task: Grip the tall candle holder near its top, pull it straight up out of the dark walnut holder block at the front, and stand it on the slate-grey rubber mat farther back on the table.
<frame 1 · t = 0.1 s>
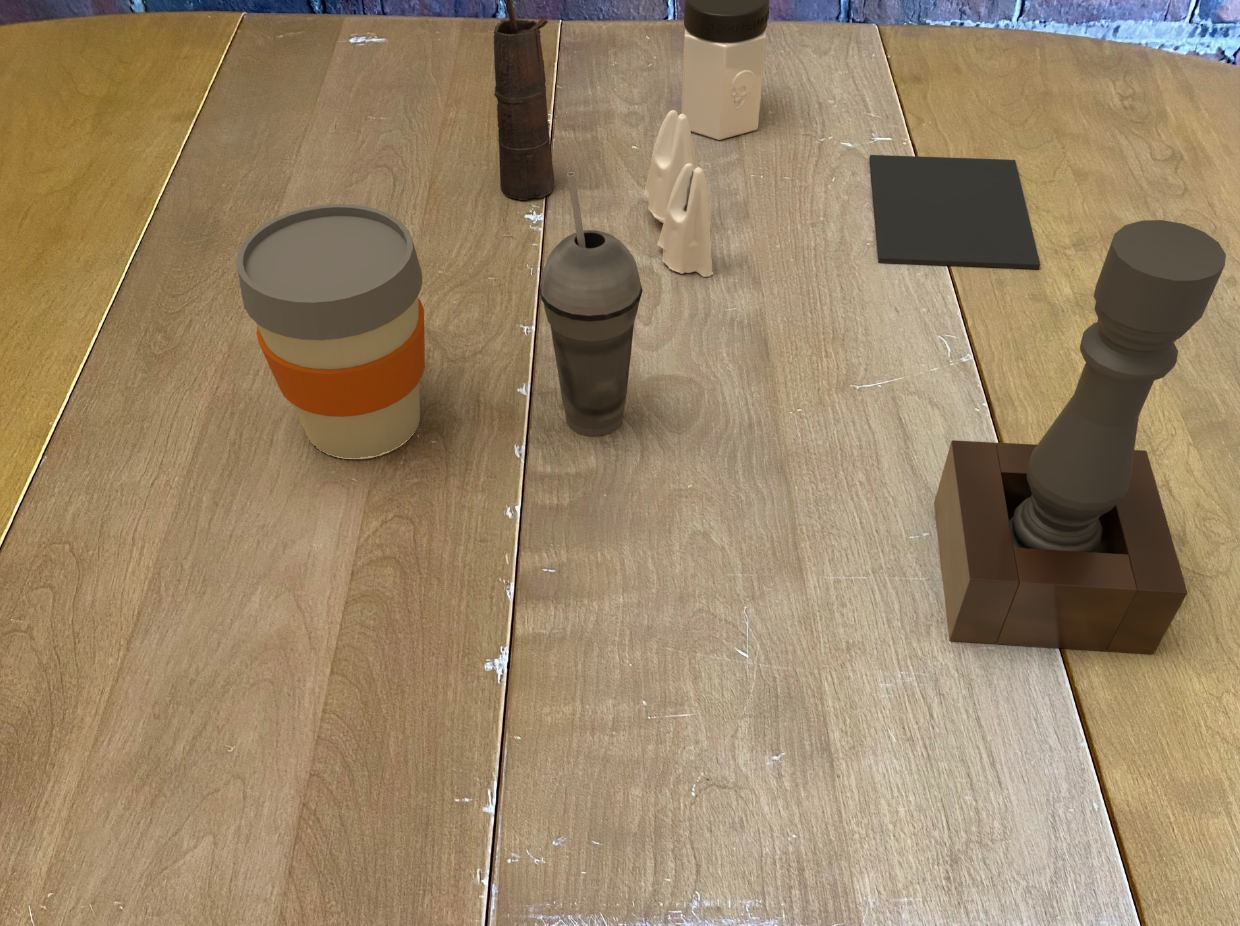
candle holder: (1036, 576, 81), resting in holder
shaker set: (677, 243, 107), on the table
butter churn: (538, 186, 114), on the table
holder: (1037, 574, 80), on the table
jar: (719, 121, 122), on the table
reusable coffee cup: (363, 423, 92), on the table
beverage cup: (594, 419, 92), on the table
mat: (949, 211, 110), on the table
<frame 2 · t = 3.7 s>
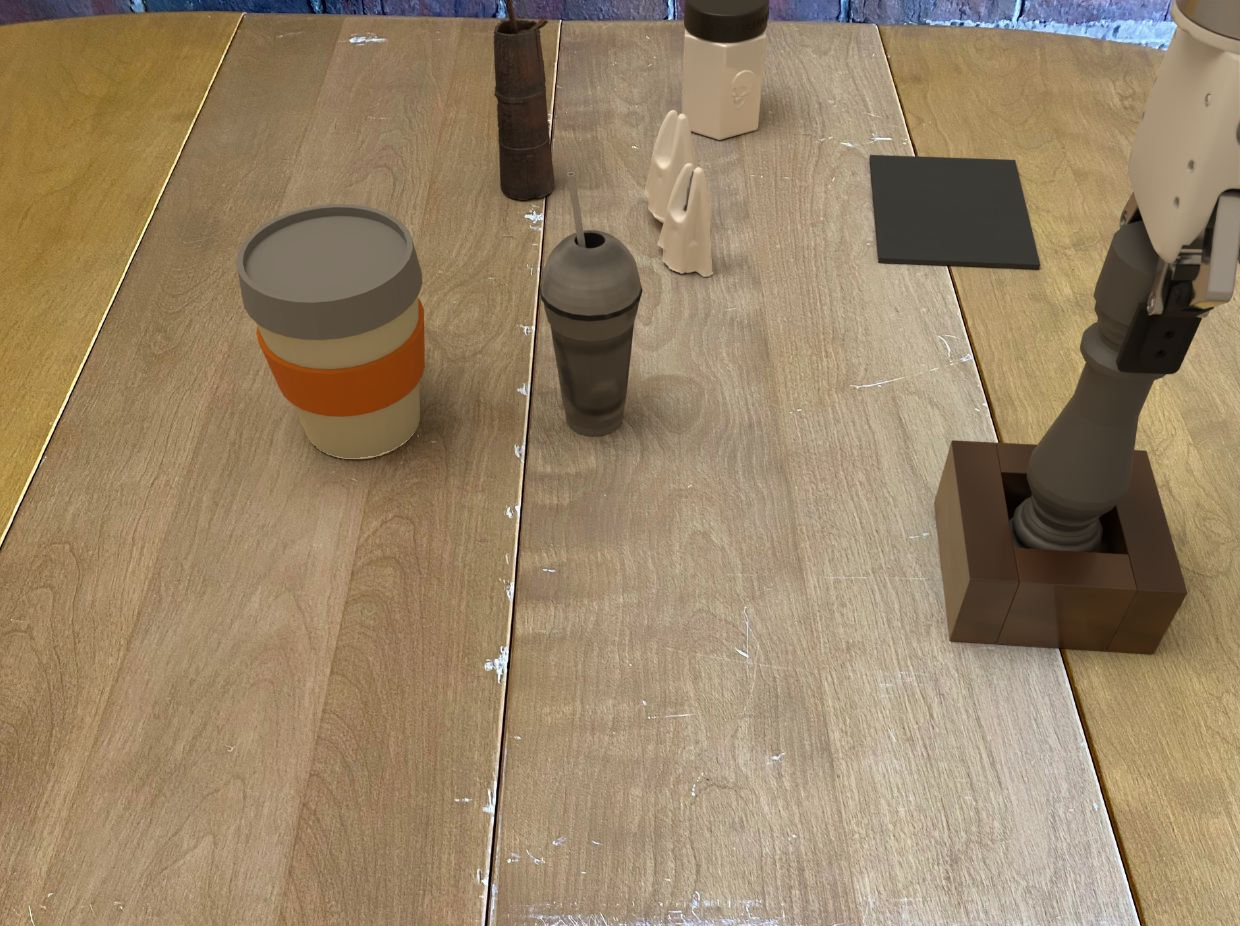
hand: (1135, 330, 65), 20 cm above the table, tool pointing down, fingers closed on candle holder, 5 cm apart
candle holder: (1036, 576, 81), resting in holder, touching gripper
everything else where it was.
when the fingers open (20 cm above the table, at t = 13.7 s): candle holder stays where it is, resting on mat.
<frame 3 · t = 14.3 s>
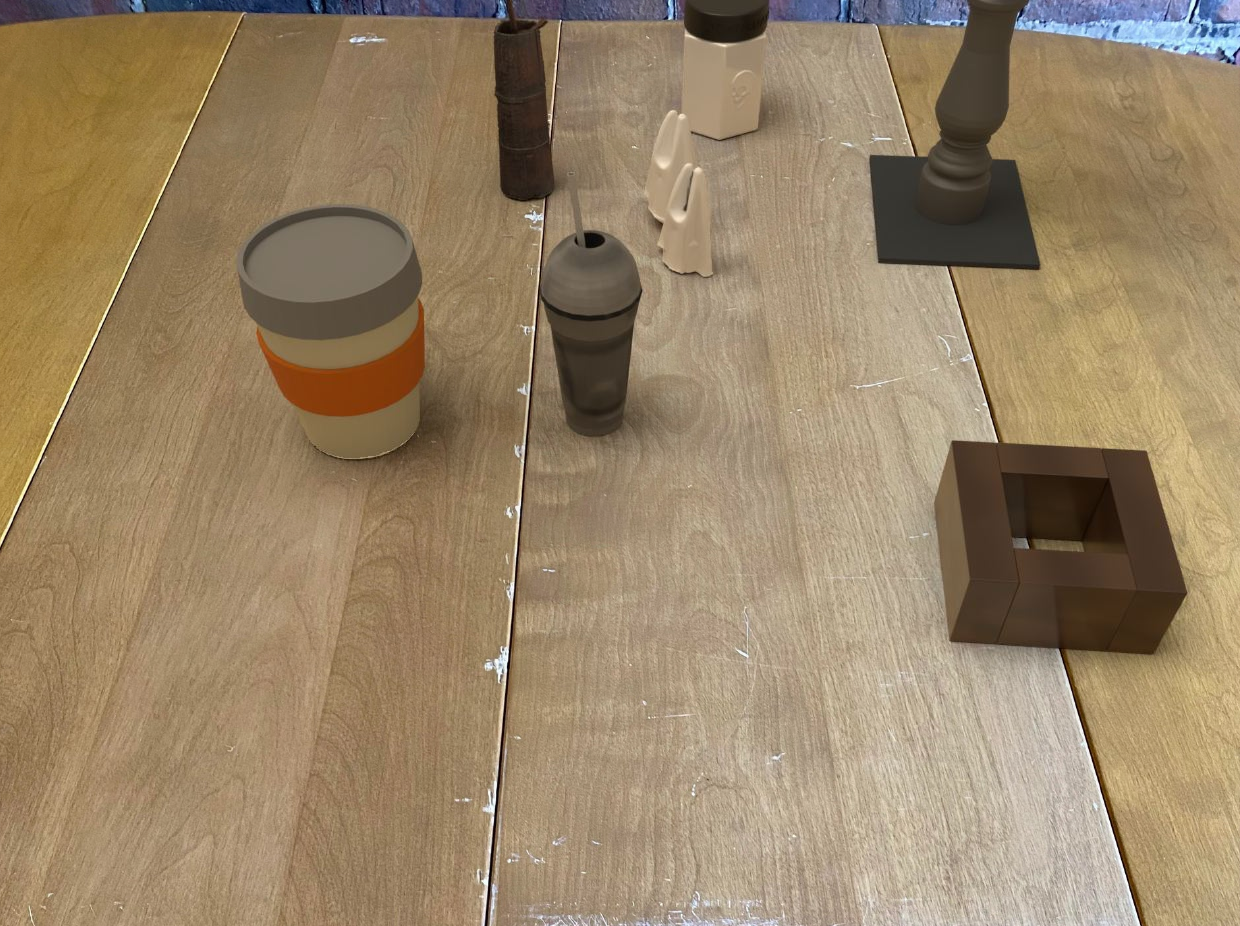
candle holder: (948, 208, 109), resting on mat
everything else where it was.
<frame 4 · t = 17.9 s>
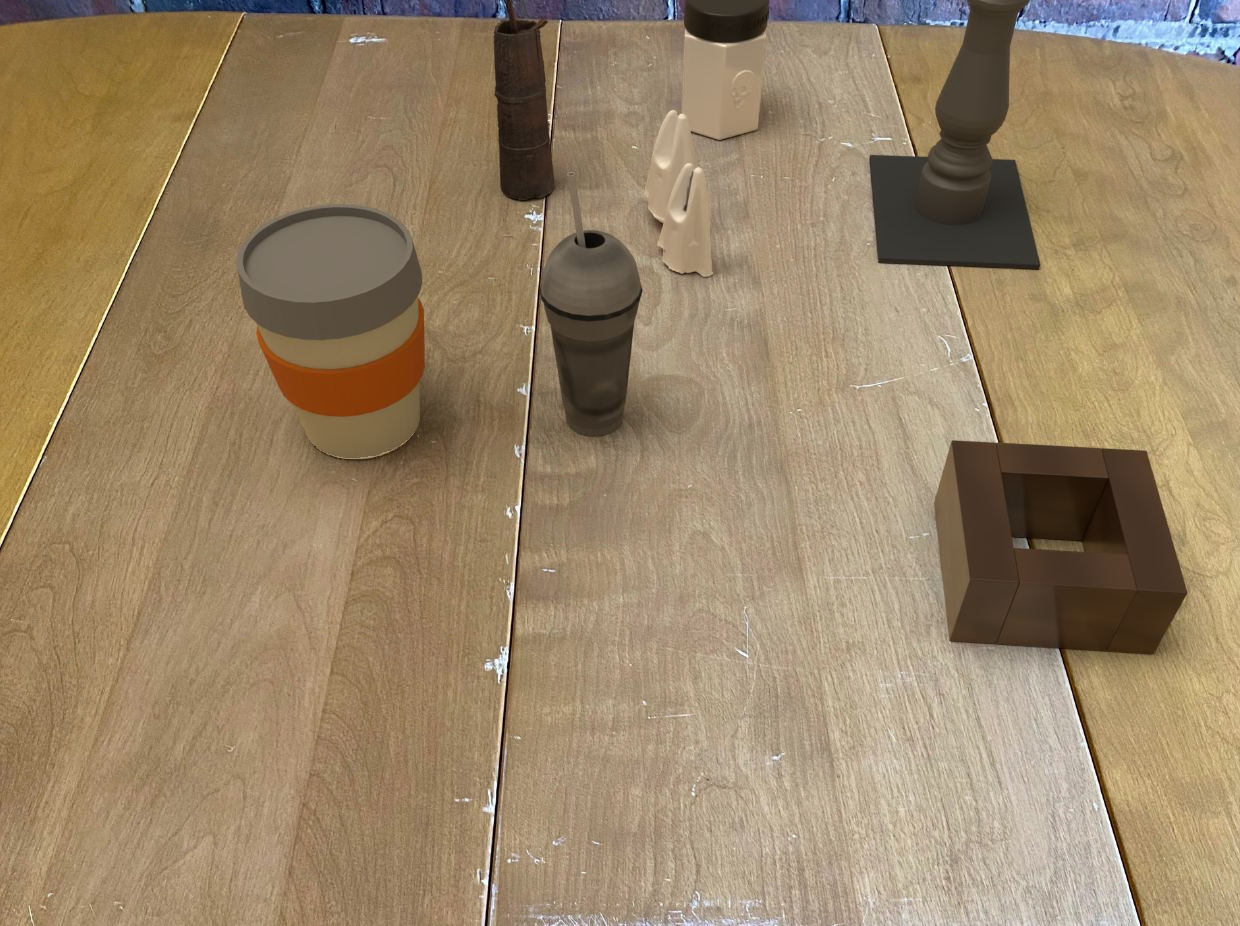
nothing on the table moved.
at the end: candle holder inside the target area on the mat (0.2 cm from its centre), point 0.3 cm above the mat's base; candle holder tilted 0°; the gripper is holding nothing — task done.
